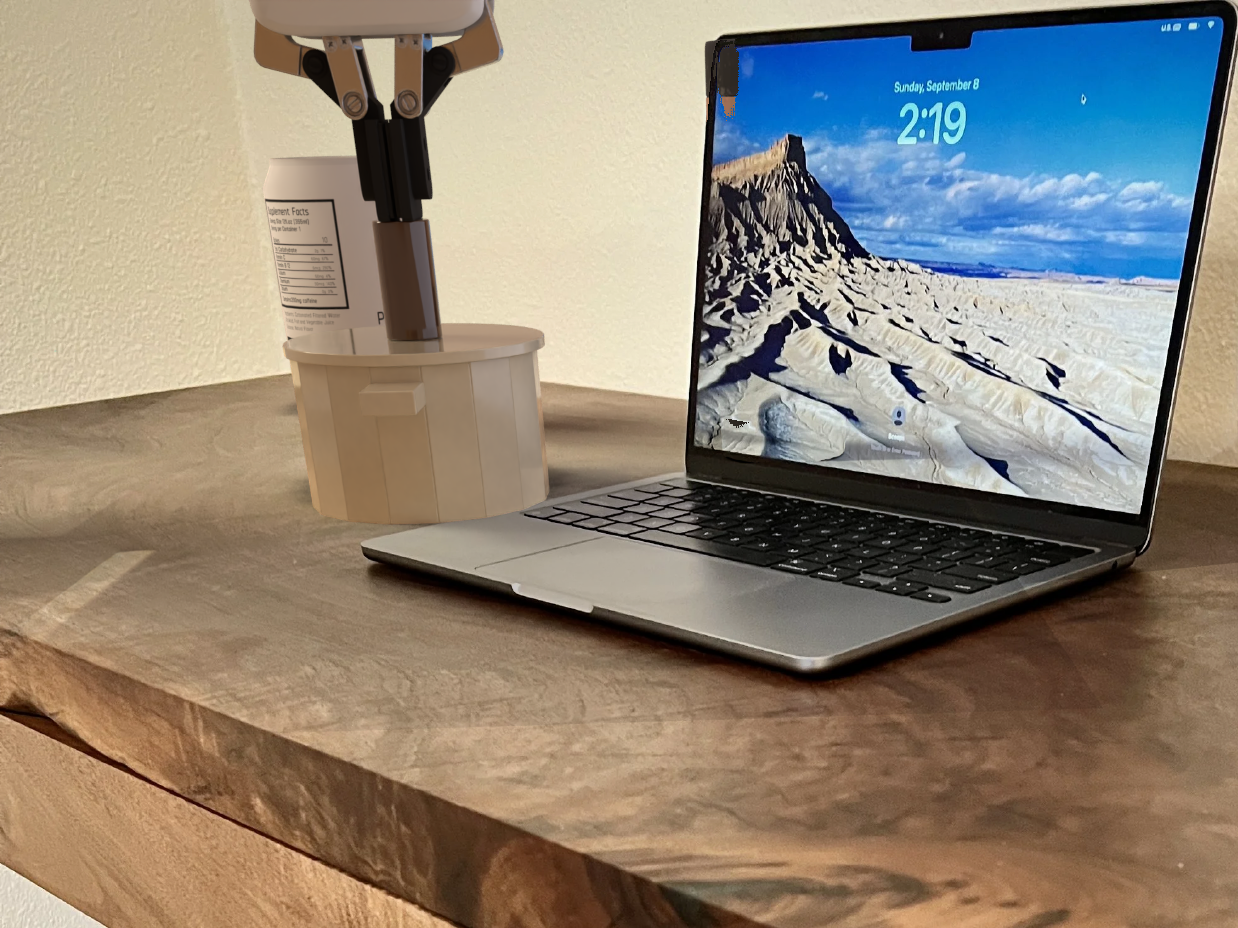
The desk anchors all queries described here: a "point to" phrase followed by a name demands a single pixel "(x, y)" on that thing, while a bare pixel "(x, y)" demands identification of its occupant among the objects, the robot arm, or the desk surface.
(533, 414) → the pot
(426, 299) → the lid
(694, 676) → the desk surface
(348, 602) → the desk surface
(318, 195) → the supplement can
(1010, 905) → the desk surface
